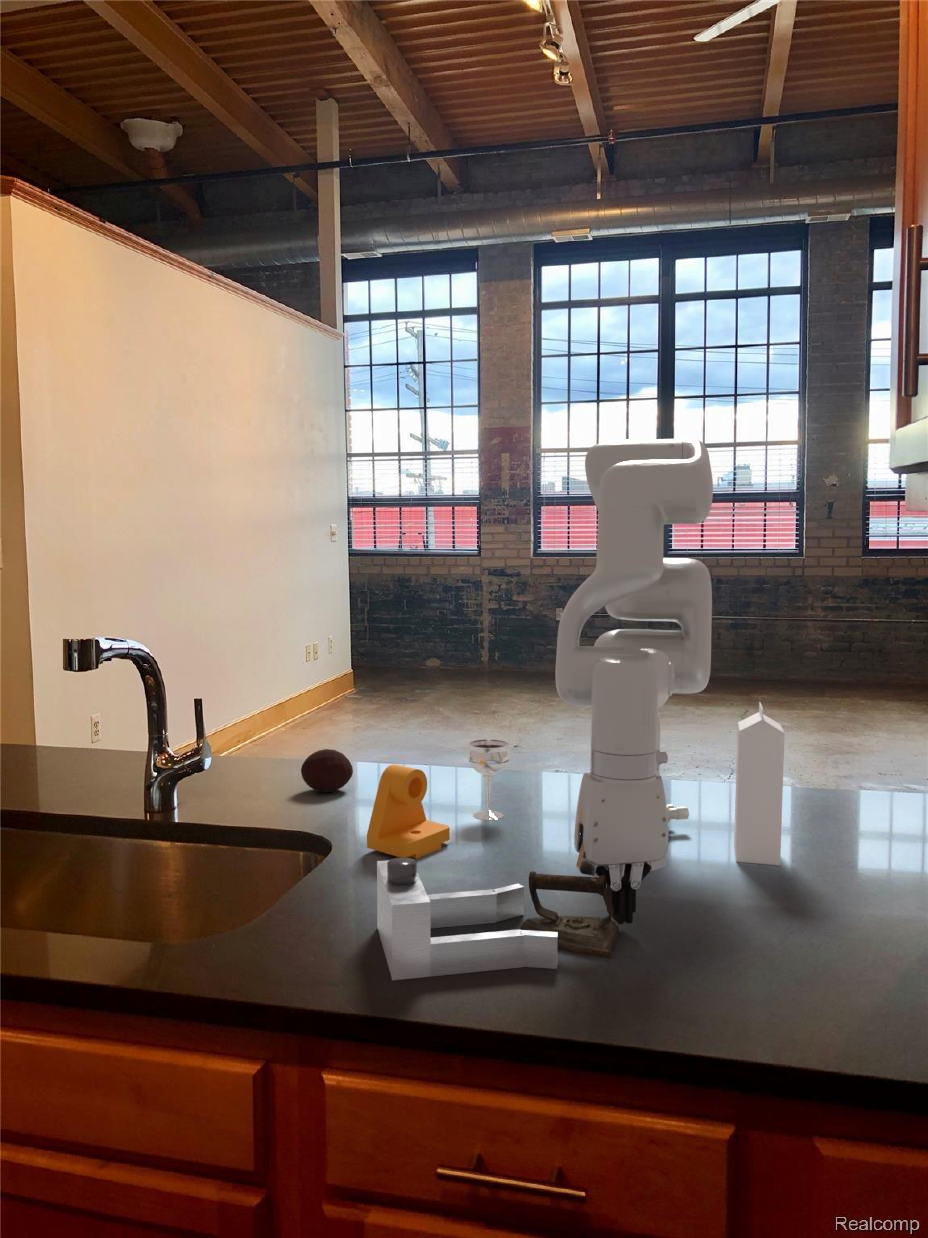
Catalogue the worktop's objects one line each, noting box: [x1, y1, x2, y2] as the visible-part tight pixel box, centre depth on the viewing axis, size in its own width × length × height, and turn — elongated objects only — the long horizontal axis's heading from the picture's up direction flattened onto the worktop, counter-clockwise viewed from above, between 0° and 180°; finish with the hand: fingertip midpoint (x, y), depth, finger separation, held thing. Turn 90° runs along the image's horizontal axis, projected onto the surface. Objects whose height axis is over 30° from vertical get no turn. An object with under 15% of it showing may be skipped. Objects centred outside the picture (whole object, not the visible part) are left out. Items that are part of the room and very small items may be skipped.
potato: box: [300, 748, 354, 793], centre depth 163 cm, size 8×9×8 cm
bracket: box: [366, 764, 451, 860], centre depth 133 cm, size 11×7×12 cm, turn 142°
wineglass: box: [467, 738, 510, 821], centre depth 149 cm, size 7×7×12 cm
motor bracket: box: [376, 857, 559, 981], centre depth 101 cm, size 18×15×10 cm
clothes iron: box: [520, 870, 620, 959], centre depth 103 cm, size 7×11×10 cm, turn 73°
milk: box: [733, 701, 785, 866], centre depth 129 cm, size 6×6×22 cm
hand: (620, 918), depth 105 cm, fingers closed
